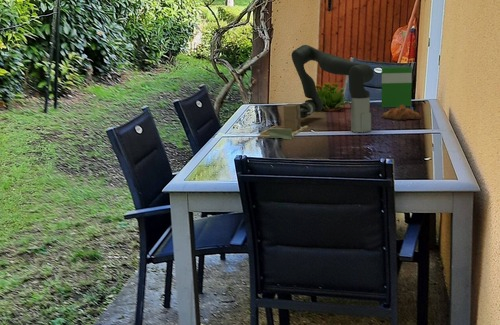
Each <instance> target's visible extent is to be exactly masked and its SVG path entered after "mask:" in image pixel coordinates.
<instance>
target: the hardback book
mask: <svg viewBox="0 0 500 325" xmlns="http://www.w3.org/2000/svg"><path fill="white" fill-rule="evenodd" d="M412 69H413V68H412V66H391V67H390V66H388V67H387V66H386V67H385V66H383V67H381V108H382V107H396V108H398V107H399V106H400V105H405V106H411V107H412V88H413V87H412V86H413V85H412V83H413V82H412V80H413V78H412V76H413V72H412V71H413V70H412Z"/></svg>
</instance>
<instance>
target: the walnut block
mask: <svg viewBox="0 0 500 325" xmlns="http://www.w3.org/2000/svg"><path fill="white" fill-rule="evenodd" d="M300 104H301V103H287V104H285V105H283V122H284V123H283V126H284V129H292V131H297V130H299V129H301V127H302V125H301V118H300Z"/></svg>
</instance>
